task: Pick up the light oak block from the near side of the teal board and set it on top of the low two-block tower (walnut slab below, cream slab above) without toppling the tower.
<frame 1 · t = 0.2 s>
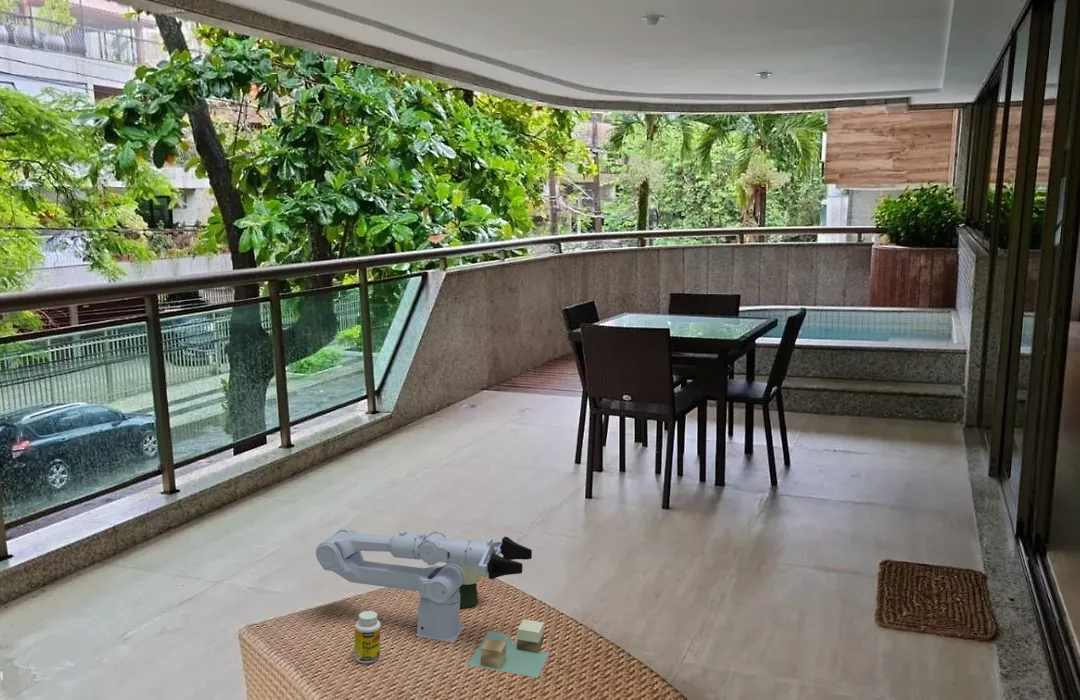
hand: (526, 561, 191), 21 cm above the table, tool horizontal, fingers open, 7 cm apart
supplement bottle: (366, 658, 187), on the table
cream block: (530, 635, 194), point 3 cm above the table, touching walnut block
teal board: (512, 654, 191), on the table
character mug: (465, 604, 215), on the table
oak block: (493, 661, 187), resting on teal board
walnut block: (530, 646, 195), resting on teal board, touching cream block
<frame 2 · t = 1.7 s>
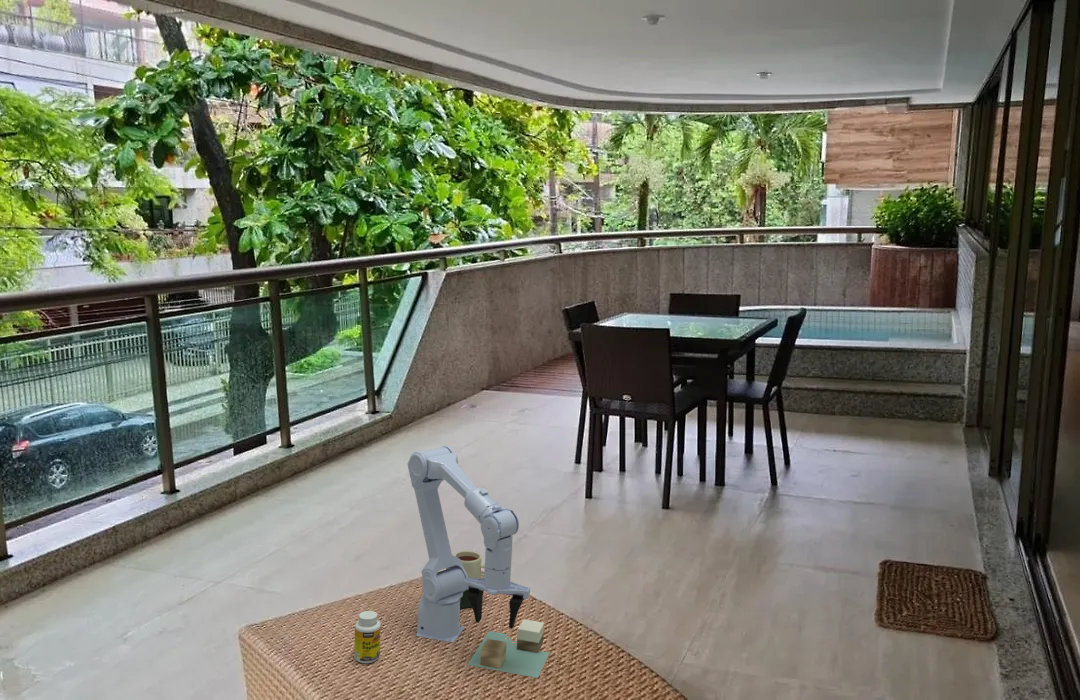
hand: (495, 623, 186), 10 cm above the table, tool pointing down, fingers open, 7 cm apart
nothing on the table moved.
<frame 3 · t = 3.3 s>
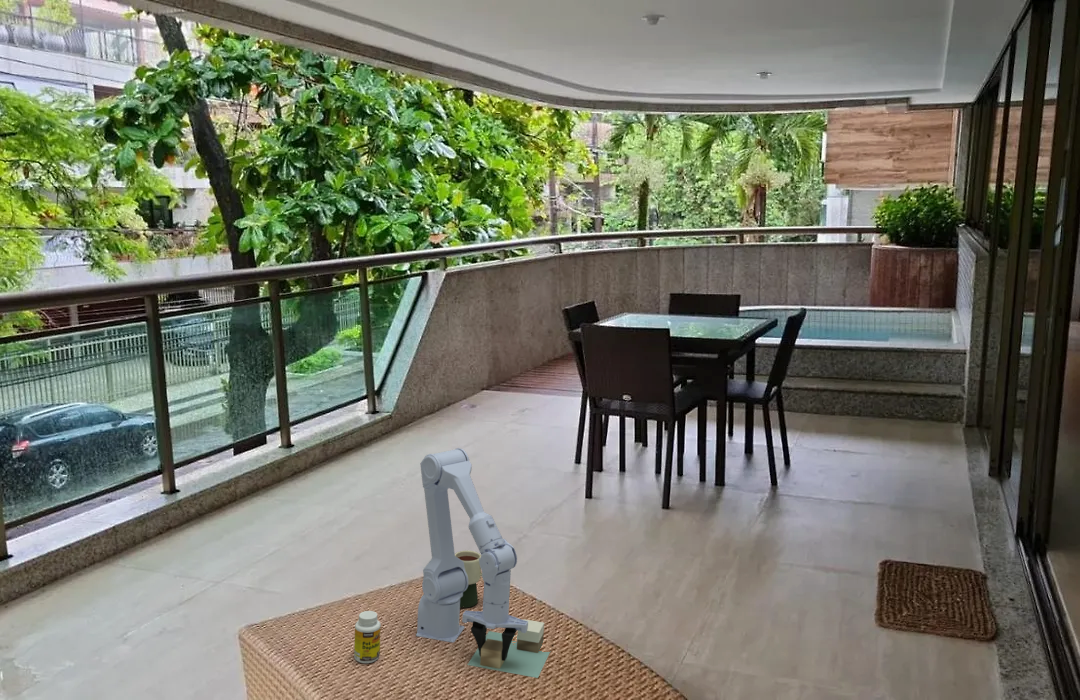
hand: (493, 656, 187), 2 cm above the table, tool pointing down, fingers closed on oak block, 4 cm apart
oak block: (493, 661, 187), resting on teal board, touching gripper
everything else where it was.
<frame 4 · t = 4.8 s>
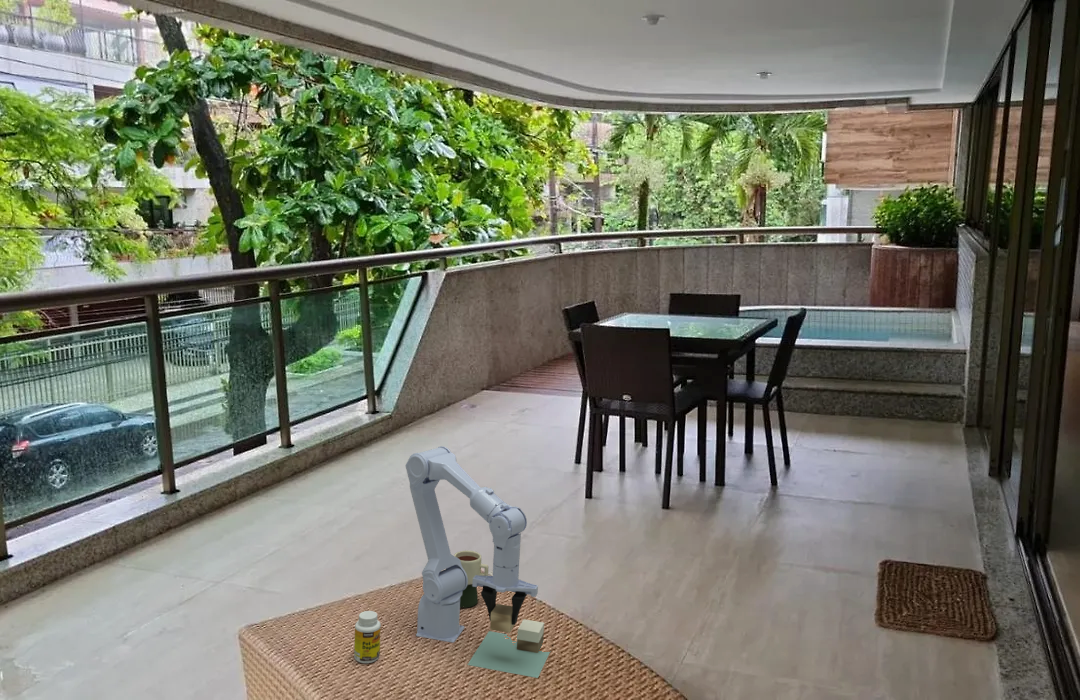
hand: (503, 620, 187), 9 cm above the table, tool pointing down, fingers closed on oak block, 4 cm apart
oak block: (502, 626, 187), point 8 cm above the table, touching gripper
everything else where it was.
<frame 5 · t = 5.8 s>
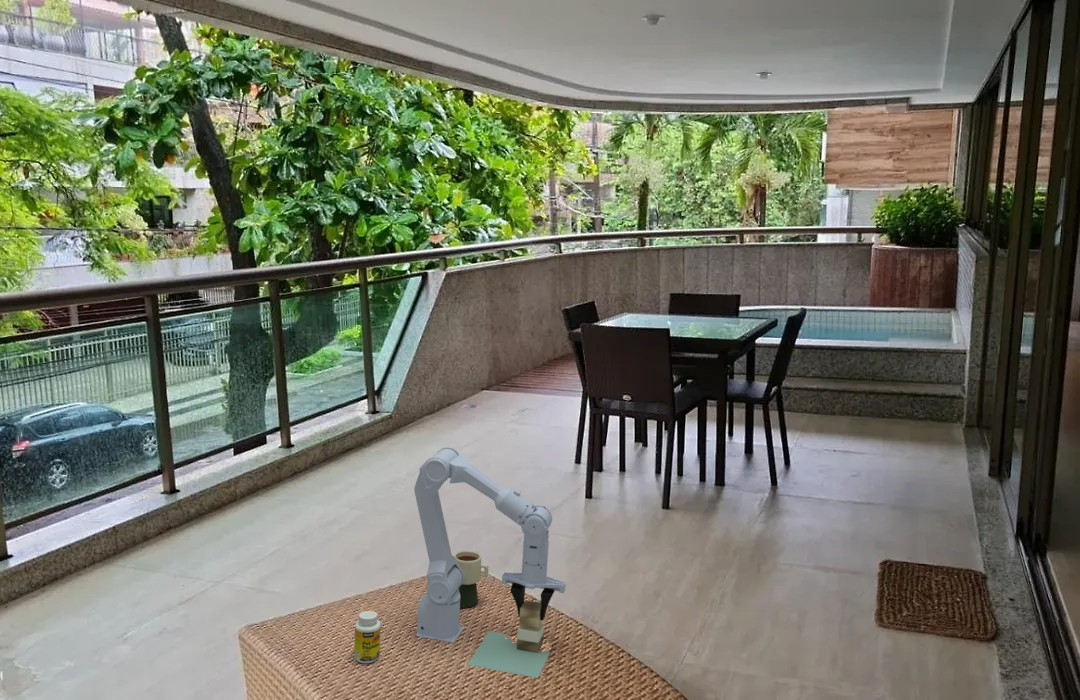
hand: (531, 616, 194), 8 cm above the table, tool pointing down, fingers closed on oak block, 4 cm apart
oak block: (531, 622, 194), point 6 cm above the table, touching gripper
everything else where it was.
when the fingers open (8 cm above the table, at t = 6.5 s): oak block stays where it is, resting on cream block.
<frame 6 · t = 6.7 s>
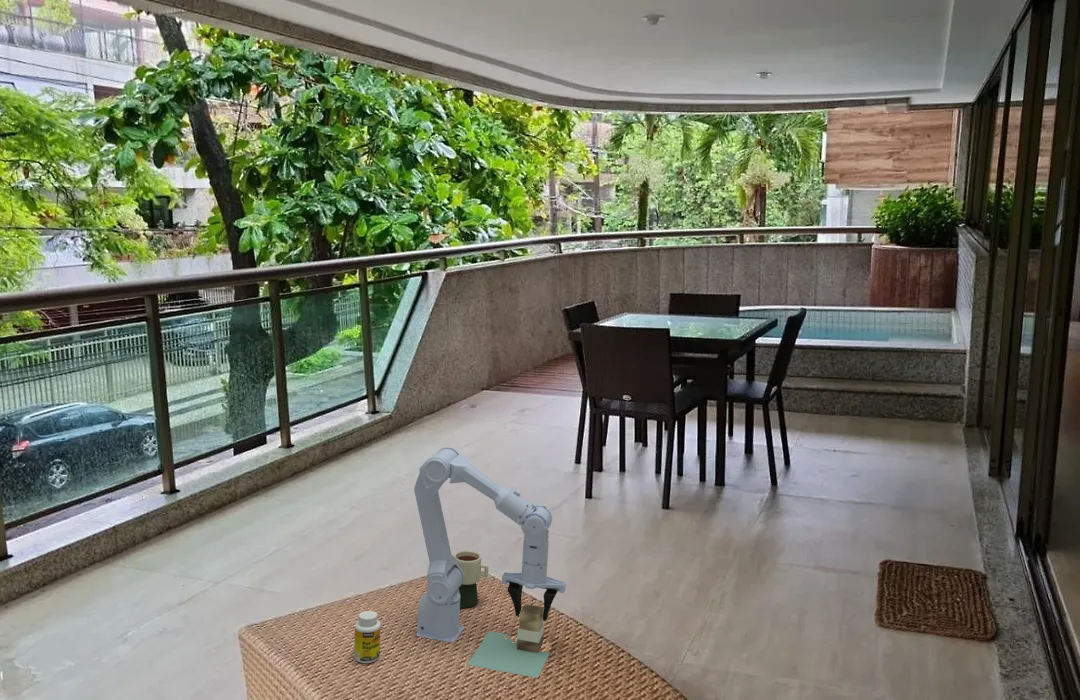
hand: (531, 616, 194), 8 cm above the table, tool pointing down, fingers open, 6 cm apart
cream block: (530, 635, 194), point 3 cm above the table, touching oak block, walnut block
oak block: (531, 626, 194), point 5 cm above the table, touching cream block
everything else where it was.
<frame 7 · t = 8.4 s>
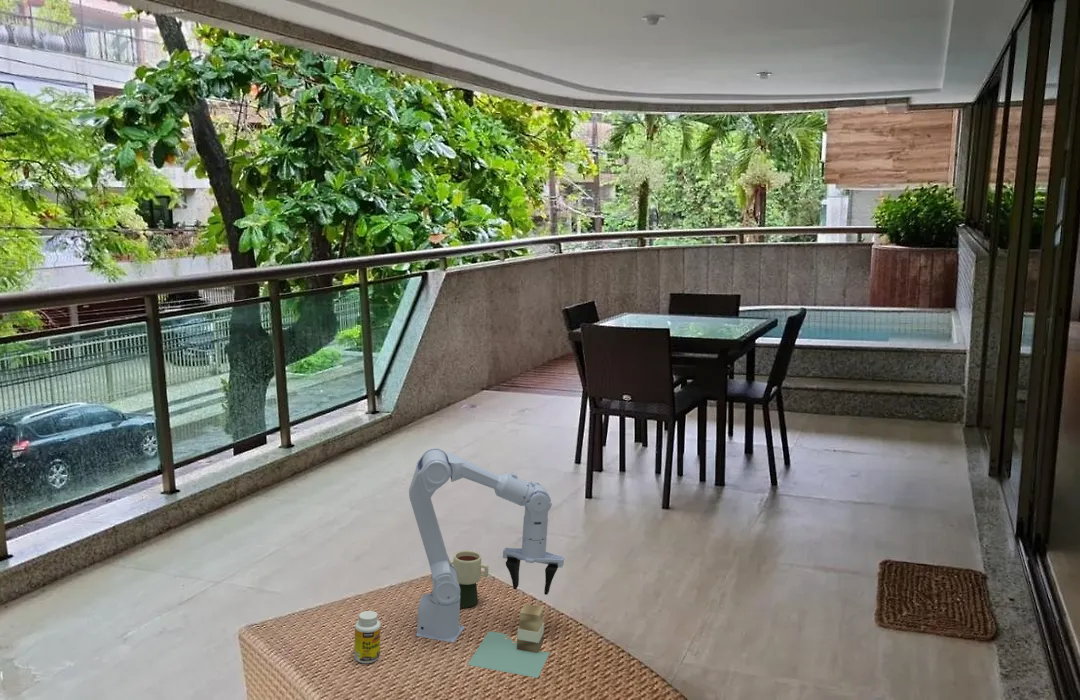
hand: (531, 590, 201), 10 cm above the table, tool pointing down, fingers open, 7 cm apart
nothing on the table moved.
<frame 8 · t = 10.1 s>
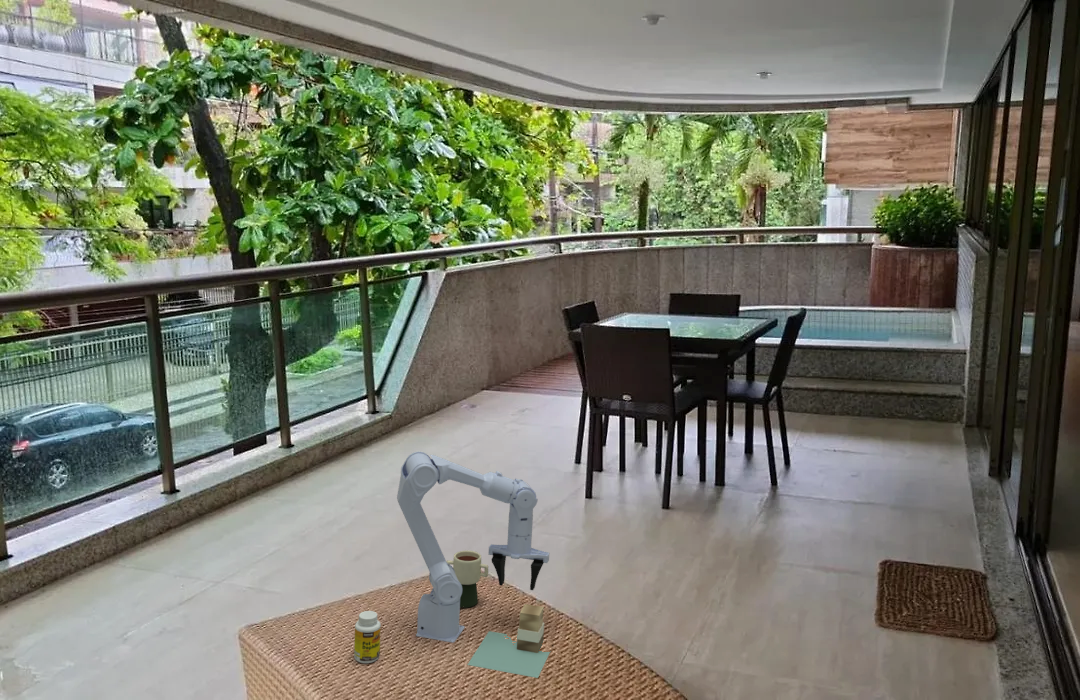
hand: (517, 586, 203), 10 cm above the table, tool pointing down, fingers open, 7 cm apart
nothing on the table moved.
at the end: oak block 0.1 cm off-centre on the walnut block, point 5.0 cm above the walnut block's base; oak block tilted 0°; cream block 0.0 cm off-centre on the walnut block, point 2.5 cm above the walnut block's base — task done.
